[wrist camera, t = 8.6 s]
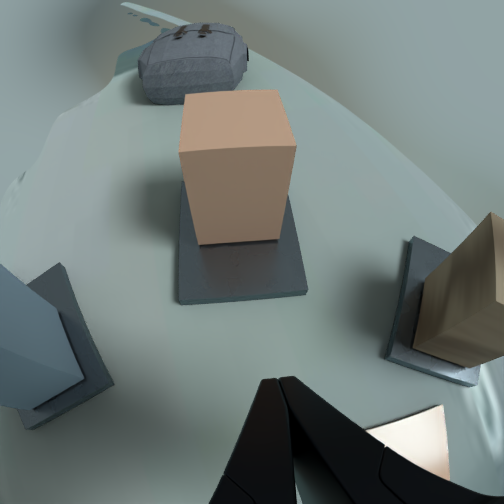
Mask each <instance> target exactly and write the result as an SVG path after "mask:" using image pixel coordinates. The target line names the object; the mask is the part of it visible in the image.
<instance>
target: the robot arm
mask: <svg viewBox="0 0 504 504" xmlns="http://www.w3.org/2000/svg"><path fill="white" fill-rule="evenodd" d="M223 474H224V475H222V477H221V479H220V481H219V484H218V486H217V488H216V490H215V492H214V494H213V496H212V498H211V500H210V502H209V504H297V499H296V486H297V489H298V491H299V494H300V497H301V500H302V503H303V504H504V496H489V495H484V494H480V493H477V492H474V491H472V490H469V489H467V488H465V487H462V486H460V485H457V484H455V483H453V482H451V481H448V480H446V479H444V478H442V477H439V476H437V475H435V474H433V473H431V472H429V471H427V470H425V469H423V468H421V467H419V466H418V465H416V464H414V463H412V462H411V461H409V460H408V459H406V458H404V457H403V456H401V455H400V454H398V453H397V452H395V451H394V450H392V449H391V448H389V447H388V446H386V447H385V444H383V443H382V442H381V441H379V440H378V439H376V438H375V437H373V436H372V435H371V434H369V433H368V432H367V431H365V430H364V429H362V428H361V427H360V426H358V425H357V424H356V423H354V422H353V421H352V420H350V419H349V418H348V417H346V416H345V415H344V414H342V413H341V412H340V411H338V410H337V409H336V408H334V407H333V406H332V405H330V404H329V403H328V402H327V401H325V400H324V399H323V398H321V397H320V396H319V395H318V394H316V393H315V392H314V391H312V390H311V389H310V388H309V387H307V386H306V385H305V384H304V383H302V382H301V381H300V380H299V379H298V378H296V377H295V376H288V377H280V378H279V379H277V378H270V379H263V380H261V382H260V385H259V387H258V390H257V392H256V395H255V398H254V400H253V403H252V405H251V408H250V410H249V413H248V415H247V418H246V420H245V423H244V425H243V428H242V430H241V433H240V435H239V437H238V440H237V442H236V445H235V447H234V449H233V452H232V454H231V457H230V459H229V461H228V464H227V466H226V468H225V471H224V473H223ZM295 483H296V486H295Z"/></svg>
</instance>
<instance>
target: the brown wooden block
mask: <svg viewBox="0 0 504 504" xmlns="http://www.w3.org/2000/svg"><path fill="white" fill-rule="evenodd" d="M413 348H414V349H416V350H419V351H422V352H425V353H427V354H430V355H433V356H436V357H439V358H441V359H444V360H447V361H450V362H453V363H456V364H458V365H461V366H464V367H467V368H472V367H475V366H478V365H481V364H483V363H486V362H489V361H491V360H494V359H496V358H499V357H501V356H504V220H503V219H502V218H500V217H498V216H497V215H495V214H494V213H492V212H490V213H489V214H488V215H487V216H486V218H485V219H484V220H483V221H482V222H481V223H480V224H479V225H478V226H477V227H476V228H475V230H474V231H473V232H472V233H471V234H470V235H469V236H468V237H467V238H466V239H465V240H464V241H463V242H462V243H461V244H460V245H459V246H458V247H457V248H456V249H455V250H454V251H453V252H452V253H451V254H450V255H449V256H448V257H447V258H446V259H445V260H444V261H443V262H442V263H441V264H440V265H439V266H438V267H437V268H436V269H435V270H434V271H432V272H431V273H430V274H429V275H428V276H427V277H426V278H425V283H424V290H423V296H422V303H421V309H420V314H419V320H418V325H417V330H416V335H415V339H414V344H413Z"/></svg>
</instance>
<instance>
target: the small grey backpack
mask: <svg viewBox="0 0 504 504" xmlns="http://www.w3.org/2000/svg"><path fill="white" fill-rule="evenodd" d="M153 42H154V43H152V44H151V45H150V46H149V47H147V48H146V49H144V50H143V52H142V54H141V55H140V57H139V59H138V69H139V78H141V79H142V80H143V89H144V91H145V93H146V95H147V98H149V99H150V100H151V101H152V102H153V103H156V104H164V105H178V104H184V102H185V94H194V93H205V92H218V91H233V90H234V89H235V87H236V86H237V85H238V83H239V82H240V81H241V80H242V77H243V73H244V72H246V71H247V61H249V56H248V47H247V44H245V43H243V40H242V36H240V35H239V34H238V33H237V32H236V31H235V29H234V28H233V27H231V26H228V25H224V24H220V23H194V24H189V25H183V26H179V27H175V28H173V29H171V30H168V31H166V32H164V33H162V34H160V35H159V36H158V37H157V38H156V39H155V40H154V41H153Z"/></svg>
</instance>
